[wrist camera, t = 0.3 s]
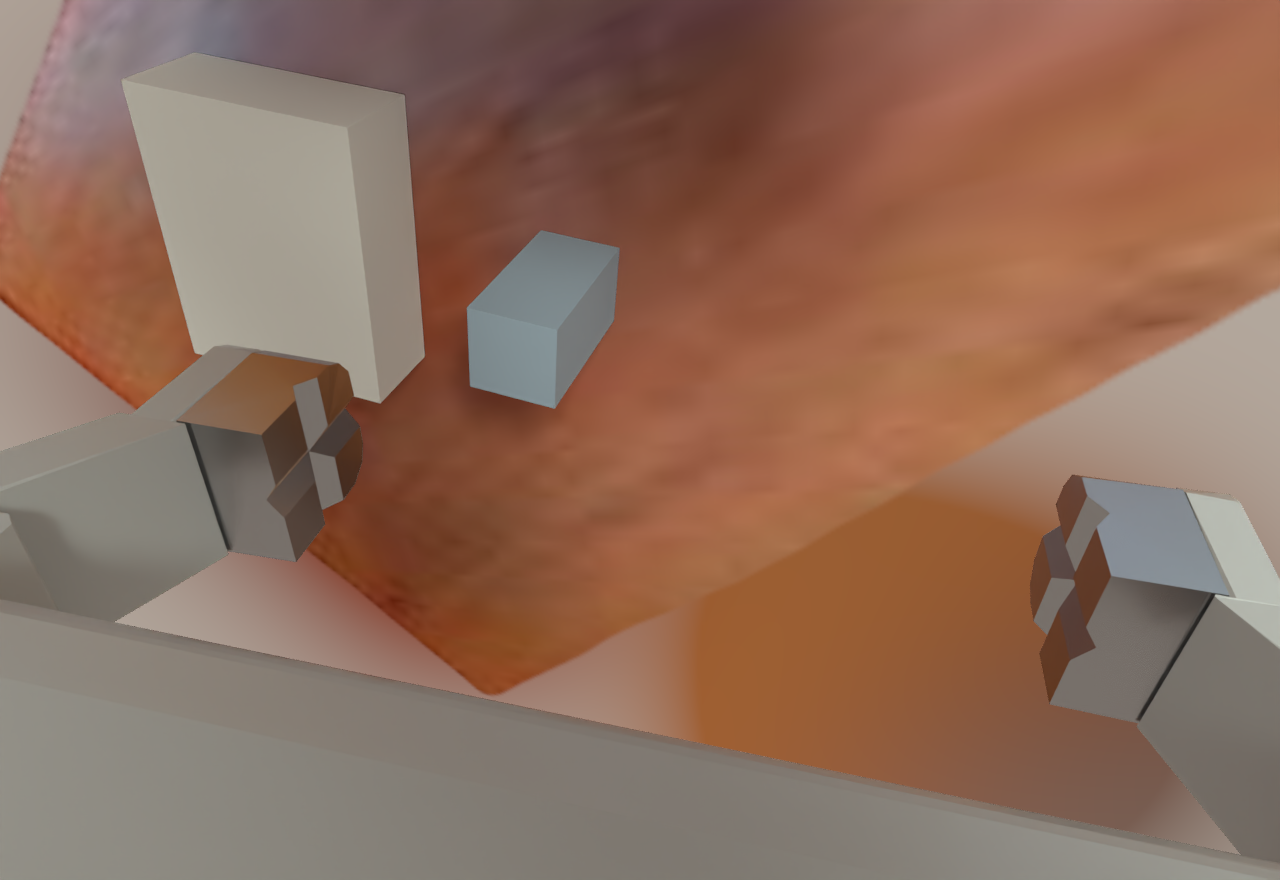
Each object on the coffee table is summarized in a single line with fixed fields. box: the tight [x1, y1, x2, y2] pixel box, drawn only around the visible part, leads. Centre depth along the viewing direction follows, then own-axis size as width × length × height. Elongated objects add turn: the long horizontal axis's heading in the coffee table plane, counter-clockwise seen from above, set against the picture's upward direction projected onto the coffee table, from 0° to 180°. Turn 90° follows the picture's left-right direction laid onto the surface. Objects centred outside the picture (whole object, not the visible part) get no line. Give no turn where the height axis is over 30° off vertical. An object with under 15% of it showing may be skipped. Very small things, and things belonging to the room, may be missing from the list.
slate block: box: [467, 230, 620, 409], centre depth 51 cm, size 5×5×10 cm
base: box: [121, 52, 425, 403], centre depth 56 cm, size 18×14×6 cm
